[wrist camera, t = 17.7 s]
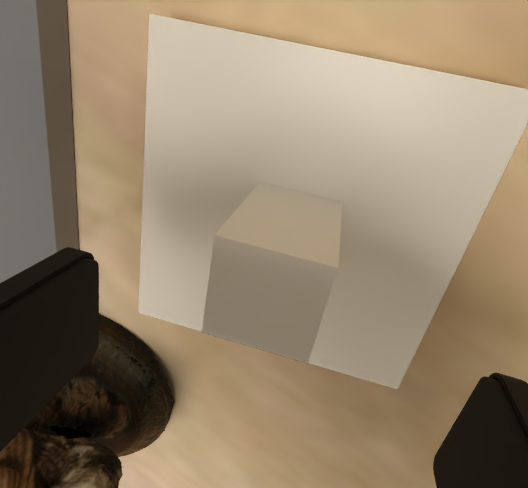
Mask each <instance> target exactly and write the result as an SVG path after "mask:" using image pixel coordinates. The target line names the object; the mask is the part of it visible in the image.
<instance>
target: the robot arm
mask: <svg viewBox="0 0 528 488" xmlns="http://www.w3.org/2000/svg"><path fill="white" fill-rule="evenodd" d="M98 345H99V267H98V263H97V262H96V261H95V260H94V257H93V255H92V254H91V253H88V252H85V251H81V250H78V249H75V248H71V247H67V248H64V249H62V250H60V251H58V252H56V253H55V254H53V255H51V256H49V257H47V258H45V259H44V260H42V261H40V262H38V263H36V264H34V265H33V266H31V267H29V268H27V269H25V270H23V271H22V272H20V273H18V274H16V275H14V276H13V277H11V278H9V279H7V280H5V281H3V282H2V283H0V452H1V451H2V450H3V449H4V448H5V447H6V446H7V445H8V444H9V443H10V442H11V441H12V440H13V439H14V438H15V437H16V436H17V434H18V433H19V432H20V431H21V430H22V429H23V428H24V427H25V426H26V425H27V424H28V423H29V422H30V421H31V420H32V419H33V418H34V417H35V416H36V415H37V414H38V413H39V412H40V411H41V410H42V409H43V408H44V407H45V406H46V405H47V404H48V403H49V402H50V401H51V400H52V399H53V398H54V397H55V396H56V395H57V394H58V393H59V392H60V391H61V390H62V388H63V387H64V386H65V385H66V384H67V383H68V382H69V381H70V380H71V379H72V378H73V377H74V376H75V375H76V374H77V373H78V372H79V371H80V370H81V369H82V368H83V367H84V366H85V365H86V364H87V363H88V362H89V361H90V360H91V359H92V358H93V356H94V355H95V353H96V351H97V349H98ZM433 470H434V476H435V481H436V486H437V488H528V384H527V382H525V381H523V380H520V379H516V378H513V377H509V376H506V375H503V374H499V373H493V374H492V375H490V376H489V377H482V378H481V379H480V381H479V382H478V384H477V385H476V387H475V389H474V391H473V392H472V394H471V396H470V397H469V399H468V401H467V402H466V404H465V406H464V408H463V409H462V411H461V413H460V414H459V416H458V418H457V419H456V421H455V423H454V424H453V426H452V428H451V430H450V431H449V433H448V435H447V436H446V438H445V440H444V441H443V443H442V445H441V447H440V448H439V450H438V452H437V453H436V455H435V459H434V465H433Z"/></svg>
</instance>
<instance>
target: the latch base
mask: <svg viewBox="0 0 528 488" xmlns="http://www.w3.org/2000/svg"><path fill="white" fill-rule="evenodd" d="M67 247H71V248H75V249H78V250H79V238H78V219H77V199H76V179H75V159H74V140H73V120H72V100H71V80H70V61H69V41H68V21H67V1H66V0H0V283H2V282H3V281H5V280H7V279H9V278H11V277H13V276H14V275H16V274H18V273H20V272H22V271H23V270H25V269H27V268H29V267H31V266H33V265H34V264H36V263H38V262H40V261H42V260H44V259H45V258H47V257H49V256H51V255H53V254H55V253H56V252H58V251H60V250H62V249H64V248H67Z"/></svg>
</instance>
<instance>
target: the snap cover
mask: <svg viewBox="0 0 528 488" xmlns="http://www.w3.org/2000/svg"><path fill="white" fill-rule="evenodd" d="M527 123H528V89H524V88H519V87H514V86H509V85H504V84H499V83H494V82H489V81H484V80H479V79H474V78H469V77H464V76H459V75H454V74H449V73H444V72H439V71H434V70H429V69H424V68H419V67H414V66H409V65H404V64H399V63H394V62H389V61H384V60H379V59H374V58H369V57H364V56H359V55H354V54H349V53H344V52H339V51H334V50H329V49H324V48H319V47H314V46H309V45H304V44H299V43H294V42H289V41H284V40H279V39H274V38H269V37H264V36H259V35H254V34H249V33H244V32H239V31H234V30H229V29H224V28H219V27H214V26H209V25H204V24H199V23H194V22H189V21H184V20H179V19H174V18H169V17H164V16H159V15H154V14H149V37H148V65H147V92H146V119H145V146H144V173H143V200H142V227H141V255H140V282H139V309H138V313H140V314H144V315H147V316H150V317H154V318H157V319H161V320H164V321H167V322H171V323H174V324H177V325H181V326H184V327H188V328H191V329H194V330H198V331H201V332H203V333H206V334H209V335H213V336H216V337H220V338H223V339H226V340H230V341H233V342H236V343H240V344H243V345H247V346H250V347H253V348H257V349H260V350H263V351H267V352H270V353H274V354H277V355H280V356H284V357H287V358H290V359H294V360H297V361H301V362H304V363H307V364H308V363H309V364H313V365H316V366H319V367H323V368H326V369H330V370H333V371H336V372H340V373H343V374H346V375H350V376H353V377H357V378H360V379H363V380H367V381H370V382H373V383H377V384H380V385H384V386H387V387H390V388H394V389H397V390H398V388H399V386H400V384H401V382H402V380H403V378H404V375H405V373H406V371H407V369H408V367H409V365H410V363H411V361H412V359H413V357H414V355H415V353H416V351H417V349H418V347H419V345H420V343H421V341H422V339H423V337H424V334H425V332H426V330H427V328H428V326H429V324H430V322H431V320H432V318H433V316H434V314H435V312H436V310H437V308H438V306H439V304H440V302H441V300H442V298H443V296H444V294H445V291H446V289H447V287H448V285H449V283H450V281H451V279H452V277H453V275H454V273H455V271H456V269H457V267H458V265H459V263H460V261H461V259H462V257H463V255H464V253H465V250H466V248H467V246H468V244H469V242H470V240H471V238H472V236H473V234H474V232H475V230H476V228H477V226H478V224H479V222H480V220H481V218H482V216H483V214H484V212H485V210H486V207H487V205H488V203H489V201H490V199H491V197H492V195H493V193H494V191H495V189H496V187H497V185H498V183H499V181H500V179H501V177H502V175H503V173H504V171H505V169H506V166H507V164H508V162H509V160H510V158H511V156H512V154H513V152H514V150H515V148H516V146H517V144H518V142H519V140H520V138H521V136H522V134H523V132H524V130H525V128H526V125H527Z"/></svg>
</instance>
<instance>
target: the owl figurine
mask: <svg viewBox="0 0 528 488" xmlns="http://www.w3.org/2000/svg"><path fill="white" fill-rule="evenodd" d="M173 405H174V400H173V401H172V396H171V393H170V390H169V387H168V385H167V383H166V381H165V379H164V378H163V375H162V373H161V371H160V368H159V365H158V362H157V361H156V360H155V359H154V357H153V355H152V354H151V352H150V351H149V350H148V348H147V346H146V345H144V344H143V343H142V342H141V341H140V340H138V339H137V338H136V337H135V336H134V335H132V334H131V333H130V332H129V331H127V330H126V329H125V328H123V327H122V326H121V325H119V324H117V323H115V322H113V321H111V320H110V319H108V318H105V317H103V316H101V315H99V345H98V349H97V351H96V353H95V355H94V356H93V358H92V359H91V360H90V361H89V362H88V363H87V364H86V365H85V366H84V367H83V368H82V369H81V370H80V371H79V372H78V373H77V374H76V375H75V376H74V377H73V378H72V379H71V380H70V381H69V382H68V383H67V384H66V385H65V386H64V387H63V388H62V390H61V391H60V392H59V393H58V394H57V395H56V396H55V397H54V398H53V399H52V400H51V401H50V402H49V403H48V404H47V405H46V406H45V407H44V408H43V409H42V410H41V411H40V412H39V413H38V414H37V415H36V416H35V417H34V418H33V419H32V420H31V421H30V422H29V423H28V424H27V425H26V426H25V427H24V428H23V429H22V430H21V431H20V432H19V433H18V434H17V436H16V437H15V438H14V439H13V440H12V441H11V442H10V443H9V444H8V445H7V446H6V447H5V448H4V449H3V450H2V451H1V452H0V488H118V485H119V480H120V478H121V476H122V469H121V468H122V466H121V462H120V460H119V458H118V457H120V456H125V455H128V454H132V453H134V452H137V451H140V450H141V449H143V448H145V447H147V446H148V445H150V444H152V443H153V442H154V441H155V440H156V439H157V438H158V437H159V436H160V435H161V434H162V432H163V431H165V430H164V429H165V427H166V425H167V424H168V421H169V418H170V415H171V411H172V408H173ZM50 426H59V427H60V428H61V429H60V431H63V430H64V429H65V427H67V428H71V429H73V430H76V431H83V430H86V431H87V432H88V434H86V435H84V436H83V437H80V438H75V437H74V438H73V439H71V438H70V439H67V437H66V436H59V435H56V431H52V430H51V427H50ZM67 428H66V429H67ZM59 433H60V432H59ZM59 433H57V434H59ZM68 438H69V437H68Z"/></svg>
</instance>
